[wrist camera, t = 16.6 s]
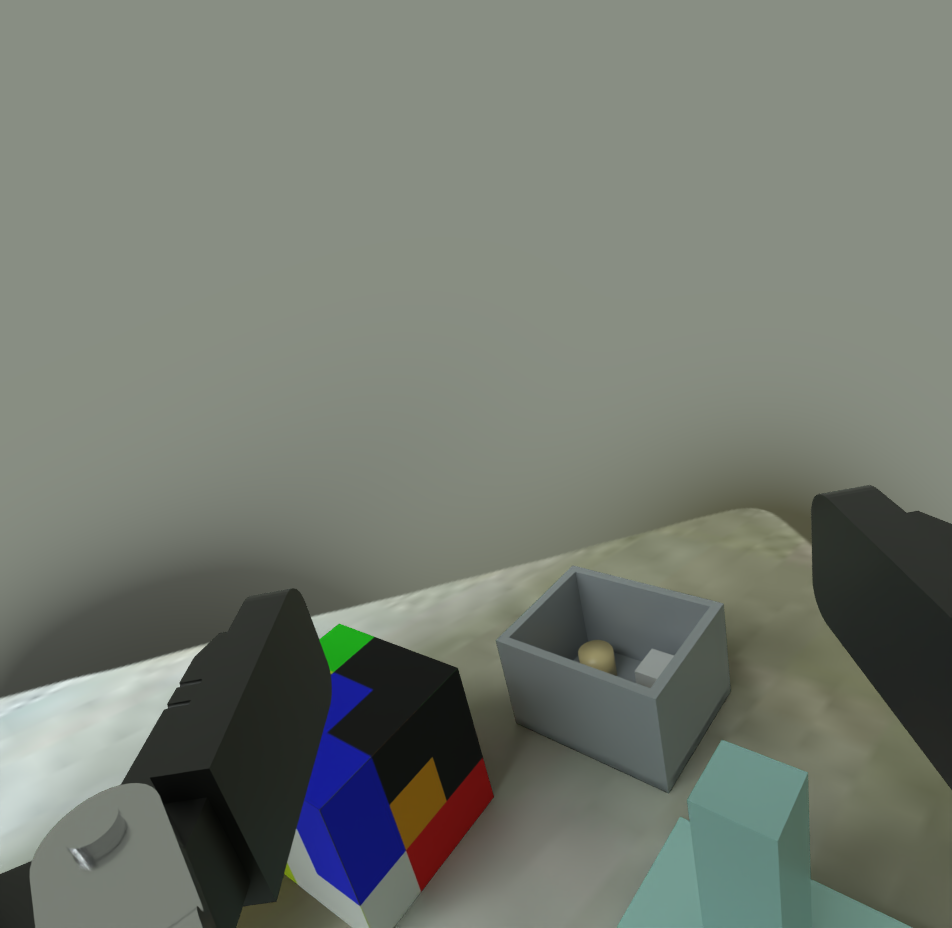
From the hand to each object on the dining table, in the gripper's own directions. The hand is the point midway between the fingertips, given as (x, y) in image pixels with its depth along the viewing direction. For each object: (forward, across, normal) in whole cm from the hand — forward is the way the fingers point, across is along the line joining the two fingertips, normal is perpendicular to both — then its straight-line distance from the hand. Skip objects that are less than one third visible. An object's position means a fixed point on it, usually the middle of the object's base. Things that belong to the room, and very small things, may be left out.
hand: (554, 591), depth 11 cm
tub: (+26, -2, +28) cm, 38 cm away
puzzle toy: (+20, +13, +28) cm, 37 cm away
